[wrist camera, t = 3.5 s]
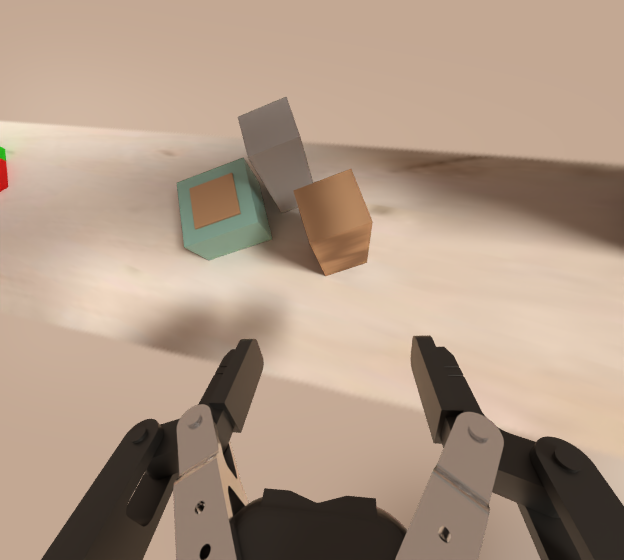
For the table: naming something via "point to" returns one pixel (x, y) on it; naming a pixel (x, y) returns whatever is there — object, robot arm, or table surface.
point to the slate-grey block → (276, 151)
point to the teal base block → (222, 211)
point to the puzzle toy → (3, 170)
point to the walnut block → (335, 221)
